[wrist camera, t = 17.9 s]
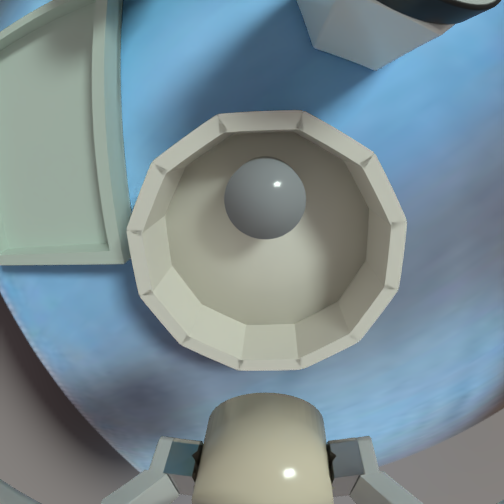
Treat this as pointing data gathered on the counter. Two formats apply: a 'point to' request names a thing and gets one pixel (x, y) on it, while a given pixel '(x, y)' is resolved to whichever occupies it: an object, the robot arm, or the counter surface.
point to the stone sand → (264, 453)
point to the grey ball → (265, 198)
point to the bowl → (267, 244)
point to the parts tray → (63, 137)
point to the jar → (382, 25)
